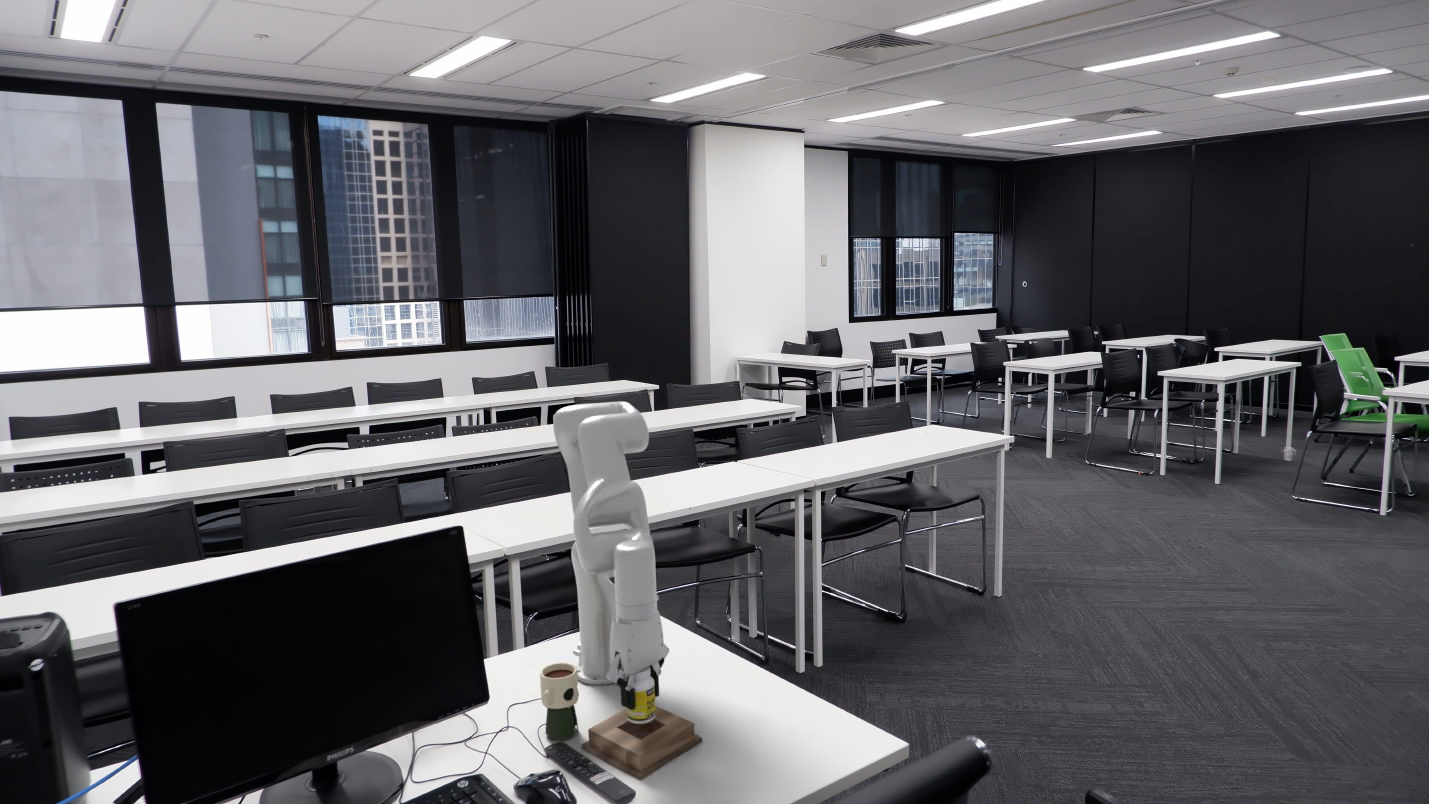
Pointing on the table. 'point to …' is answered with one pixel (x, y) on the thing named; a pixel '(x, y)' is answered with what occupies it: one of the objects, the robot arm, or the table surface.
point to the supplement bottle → (643, 698)
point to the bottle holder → (641, 741)
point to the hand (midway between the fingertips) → (640, 699)
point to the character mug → (560, 699)
